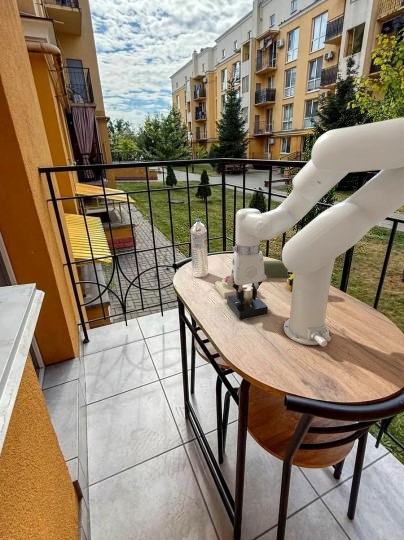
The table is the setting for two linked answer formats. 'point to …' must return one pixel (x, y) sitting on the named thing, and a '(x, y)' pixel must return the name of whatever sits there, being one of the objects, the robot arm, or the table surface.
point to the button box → (225, 288)
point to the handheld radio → (275, 269)
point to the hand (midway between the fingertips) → (246, 298)
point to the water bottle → (199, 249)
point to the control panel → (247, 308)
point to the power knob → (247, 294)
